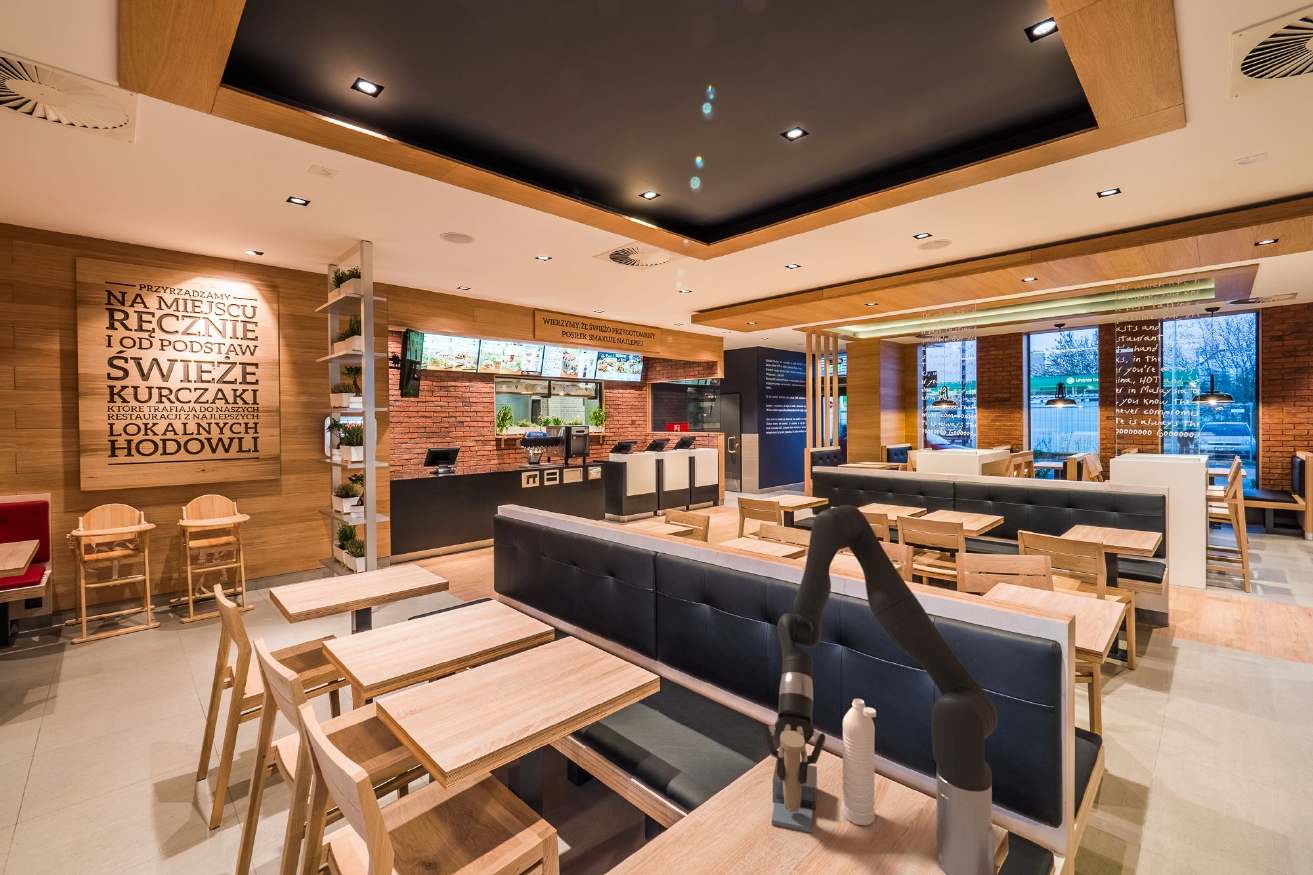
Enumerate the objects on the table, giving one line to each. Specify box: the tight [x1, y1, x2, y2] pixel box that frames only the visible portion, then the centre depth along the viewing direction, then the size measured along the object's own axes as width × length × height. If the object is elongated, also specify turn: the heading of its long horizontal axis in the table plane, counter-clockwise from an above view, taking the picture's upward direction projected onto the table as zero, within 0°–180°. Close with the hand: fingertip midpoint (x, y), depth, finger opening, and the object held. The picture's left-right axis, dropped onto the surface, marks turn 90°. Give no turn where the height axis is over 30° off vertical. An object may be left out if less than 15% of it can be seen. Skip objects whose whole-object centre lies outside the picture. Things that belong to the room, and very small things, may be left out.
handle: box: [779, 731, 806, 812], centre depth 121 cm, size 5×6×15 cm
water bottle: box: [841, 698, 877, 826], centre depth 121 cm, size 9×6×25 cm
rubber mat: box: [771, 802, 813, 834], centre depth 121 cm, size 8×6×1 cm
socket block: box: [772, 759, 818, 811], centre depth 129 cm, size 9×8×5 cm
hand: (791, 781), depth 119 cm, fingers closed on handle, 3 cm apart
